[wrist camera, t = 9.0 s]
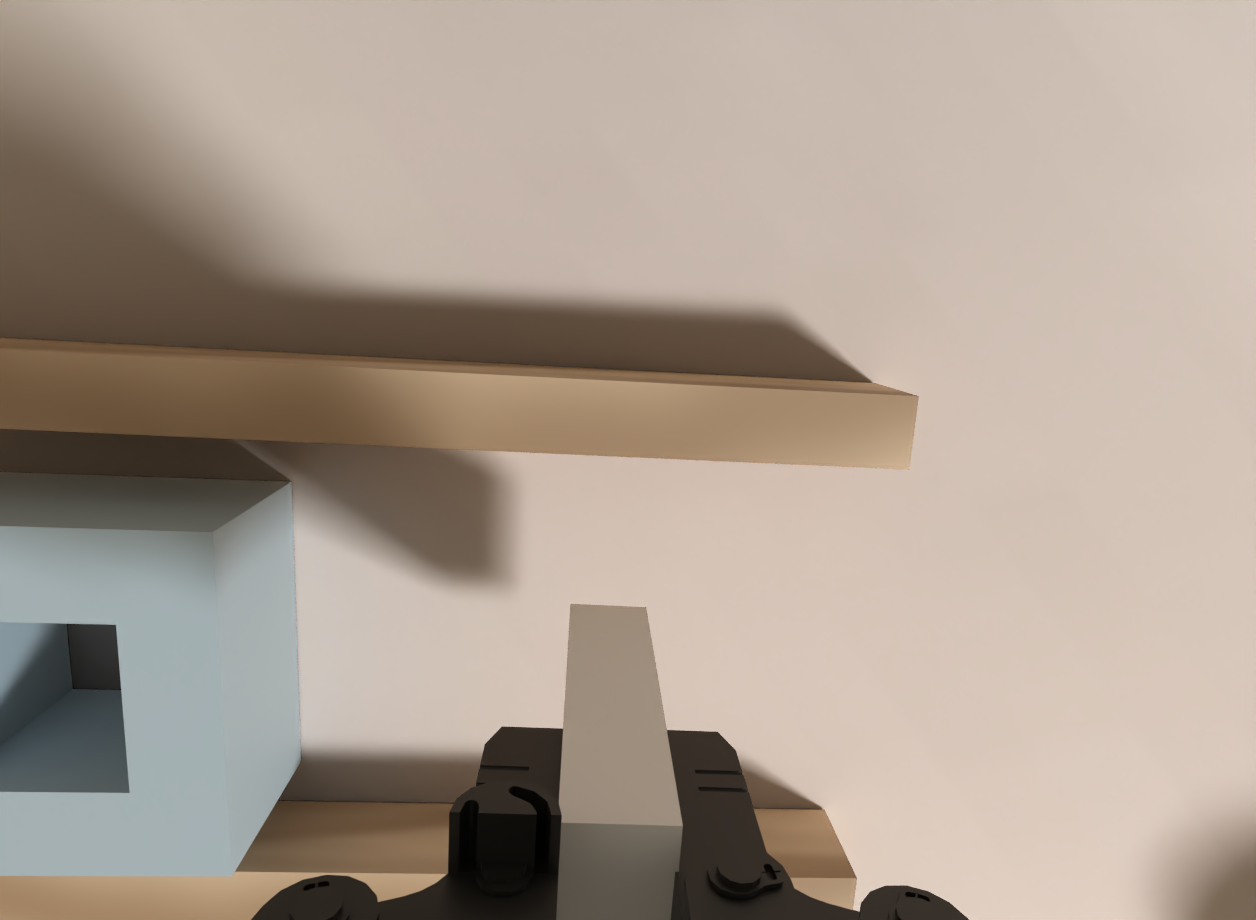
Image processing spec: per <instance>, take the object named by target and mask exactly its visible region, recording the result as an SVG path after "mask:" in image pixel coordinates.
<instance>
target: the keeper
mask: <svg viewBox="0 0 1256 920" xmlns="http://www.w3.org/2000/svg"><path fill="white" fill-rule="evenodd" d="M67 624H108V625H116V632H117V644H118V657H119V669H120V681H121V690H88V689H73V687H72V677H71V666H70V656H69V645H68V634H67ZM300 762H301V741H300V713H299V684H298V655H297V627H296V598H295V569H294V540H293V512H292V483H291V482H288V481H258V480H228V479H198V478H168V477H138V476H109V475H79V474H49V473H19V472H0V876H223V877H232V875H233V874H234V872H235V870H236V869H237V867H238V865H239V864H240V862H241V860H242V859H243V857H244V855H245V854H246V852H247V850H248V849H249V847H250V845H251V844H252V842H253V841H254V839H255V837H256V836H257V834H258V832H259V831H260V829H261V827H262V826H263V824H264V822H265V821H266V819H267V817H268V816H269V814H270V812H271V811H272V809H273V807H274V806H275V804H276V802H277V801H278V799H279V797H280V796H281V794H282V792H283V791H284V789H285V787H286V786H287V784H288V782H289V781H290V779H291V777H292V776H293V774H294V772H295V771H296V769H297V767H298V766H299V764H300Z"/></svg>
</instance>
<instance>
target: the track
mask: <svg viewBox="0 0 1256 920" xmlns="http://www.w3.org/2000/svg"><path fill="white" fill-rule="evenodd" d="M918 397H919V396H916V395H912V394H909V393H906V392H903V391H899V390H896V389H893V388H889V387H886V386H883V385H879V384H876V383H865V382H845V381H826V380H807V379H788V378H768V377H749V376H730V375H711V374H692V373H672V372H653V371H634V370H615V369H596V368H576V367H557V366H538V365H519V364H500V363H480V362H461V361H442V360H423V359H403V358H384V357H365V356H346V355H327V354H307V353H288V352H269V351H250V350H231V349H211V348H192V347H173V346H154V345H135V344H115V343H96V342H77V341H58V340H38V339H19V338H0V429H19V430H41V431H63V432H85V433H107V434H130V435H152V436H174V437H196V438H219V439H241V440H263V441H285V442H308V443H330V444H352V445H374V446H397V447H419V448H441V449H463V450H486V451H508V452H530V453H552V454H575V455H597V456H619V457H641V458H664V459H686V460H708V461H730V462H753V463H775V464H797V465H819V466H841V467H864V468H886V469H908V470H909V468H910V460H911V452H912V444H913V436H914V429H915V421H916V413H917V405H918ZM453 805H454V804H440V803H379V802H317V801H277V802H276V804H275V806H274V807H273V809H272V811H271V812H270V814H269V816H268V817H267V819H266V821H265V822H264V824H263V826H262V827H261V829H260V831H259V832H258V834H257V836H256V837H255V839H254V841H253V842H252V844H251V845H250V847H249V849H248V850H247V852H246V854H245V855H244V857H243V859H242V860H241V862H240V864H239V865H238V867H237V869H236V870H235V872H234V874H233V875H232V877H223V876H0V920H251V919H252V918H253V917H254V915H255V914H256V913H257V912H258V911H259V910H260V908H261V907H262V906H263V905H264V904H265V903H267V902H268V901H269V900H270V899H271V898H272V897H274V896H275V895H276V894H277V893H278V892H279V891H280V890H282V889H284V888H287V887H289V886H291V885H293V884H295V883H297V882H299V881H301V880H304V879H308V878H313V877H318V876H323V875H341V876H350V877H352V878H355V879H357V880H360V881H362V882H364V883H366V884H367V885H368V886H369V887H370V888H371V889H372V891H373V892H374V893H375V894H376V895H377V900H378V902H380V901H385V900H389V899H394V898H398V897H402V896H406V895H409V894H412V893H415V892H419V891H421V890H423V889H425V888H427V887H429V886H431V885H433V884H435V883H436V882H438V881H439V880H440V879H441V878H443V877H444V876H445V875H446V874H448V848H449V812H450V810H451V808H452V806H453ZM754 812H755V815H756V819H757V822H758V825H759V828H760V832H761V835H762V838H763V841H764V845H765V848H766V851H767V853H768V854H769V855H770V856H772V857H773V858H774V859H775V860H777V861H778V862H779V863H780V864H781V865H783V867H784V869H785V870H786V872H787V874H788V875H789V877H790V879H791V880H792V883H793V886H794V888H795V889H797V890H798V891H800V892H802V893H804V894H806V895H808V896H809V897H812V898H814V899H817V900H820V901H823V902H826V903H829V904H832V905H836V906H840V907H843V908H847V909H851V910H853V904H854V897H855V889H856V881H857V878H856V876H855V873H854V871H853V869H852V867H851V865H850V863H849V861H848V859H847V856H846V854H845V852H844V850H843V848H842V846H841V844H840V842H839V839H838V837H837V835H836V833H835V831H834V829H833V827H832V825H831V822H830V820H829V818H828V816H827V814H826V812H825V810H807V809H754Z"/></svg>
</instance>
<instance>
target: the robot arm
mask: <svg viewBox="0 0 1256 920" xmlns="http://www.w3.org/2000/svg"><path fill="white" fill-rule="evenodd" d="M251 920H968V918H967V917H965V916H964V915H963V914H962V913H961V912H960V911H958V910H957V909H956V908H955V907H954V906H953V905H952V904H950V903H949V902H947V901H945V900H943V899H942V898H940V897H938V896H936V895H934V894H932V893H930V892H928V891H924V890H921V889H917V888H913V887H909V886H884V887H881V888H879V889H876V890H874V891H871V892H870V893H869V894H868V895H867V896H866V898H865V899H864V900H863V901H862V903H861V907H860V912H858V911H854V910H851V909H847V908H843V907H840V906H836V905H832V904H829V903H826V902H823V901H820V900H817V899H814V898H812V897H809V896H808V895H806V894H804V893H802V892H800V891H798V890H797V889H795V888H794V886H793V883H792V880H791V879H790V877H789V875H788V874H787V872H786V870H785V869H784V867H783V865H781V864H780V863H779V862H778V861H777V860H775V859H774V858H773V857H772V856H770V855H769V854H768V853H767V851H766V848H765V845H764V841H763V838H762V835H761V832H760V828H759V825H758V822H757V819H756V815H755V812H754V809H753V805H752V802H751V799H750V796H749V793H747V786H746V783H745V779H744V776H743V775H742V770H741V766H740V763H739V760H738V757H737V753H736V750H735V749H734V748H733V747H732V746H731V745H730V744H729V743H728V742H727V741H726V740H725V739H724V738H723V737H722V736H721V735H720V734H719V733H718V732H704V731H676V730H667V729H666V723H665V717H664V711H663V705H662V699H661V693H660V687H659V681H658V675H657V669H656V663H655V657H654V652H653V646H652V640H651V634H650V628H649V622H648V616H647V610H646V607H626V606H604V605H581V604H571V606H570V623H569V640H568V657H567V673H566V690H565V707H564V723H563V729H554V728H526V727H501V728H500V729H499V730H498V731H497V732H496V733H495V734H494V736H493V737H492V738H491V739H490V740H489V741H488V742H487V743H486V744H485V747H484V751H483V756H482V760H481V765H480V769H479V773H478V778H477V782H476V787H473V788H471V789H470V790H468V791H467V792H465V793H464V794H463V795H461V796H460V797H459V798H457V800H456V801H455V803H454V805H453V806H452V808H451V810H450V812H449V848H448V874H446V875H445V876H444V877H443V878H441V879H440V880H439V881H438V882H436V883H435V884H433V885H431V886H429V887H427V888H425V889H423V890H421V891H419V892H415V893H412V894H409V895H406V896H402V897H398V898H394V899H389V900H385V901H380V902H378V900H377V895H376V894H375V893H374V892H373V891H372V889H371V888H370V887H369V886H368V885H367V884H366V883H364V882H362V881H360V880H357V879H355V878H352V877H350V876H341V875H323V876H318V877H313V878H308V879H304V880H301V881H299V882H297V883H295V884H293V885H291V886H289V887H287V888H284V889H282V890H280V891H279V892H278V893H277V894H276V895H275V896H274V897H272V898H271V899H270V900H269V901H268V902H267V903H265V904H264V905H263V906H262V907H261V908H260V910H259V911H258V912H257V913H256V914H255V915H254V917H253V918H252V919H251Z"/></svg>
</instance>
